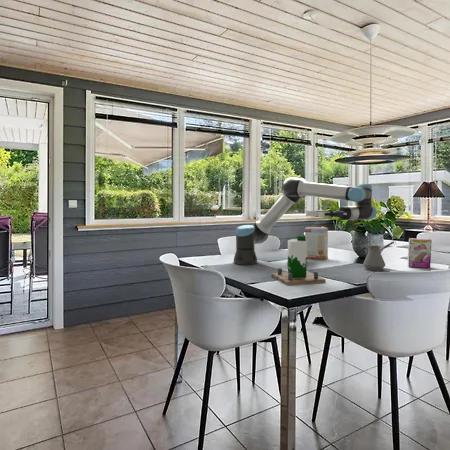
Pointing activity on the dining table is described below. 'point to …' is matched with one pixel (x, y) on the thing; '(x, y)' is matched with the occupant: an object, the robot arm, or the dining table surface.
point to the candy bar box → (419, 253)
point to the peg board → (288, 279)
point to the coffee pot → (375, 258)
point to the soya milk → (297, 257)
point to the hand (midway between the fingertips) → (312, 213)
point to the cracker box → (317, 242)
